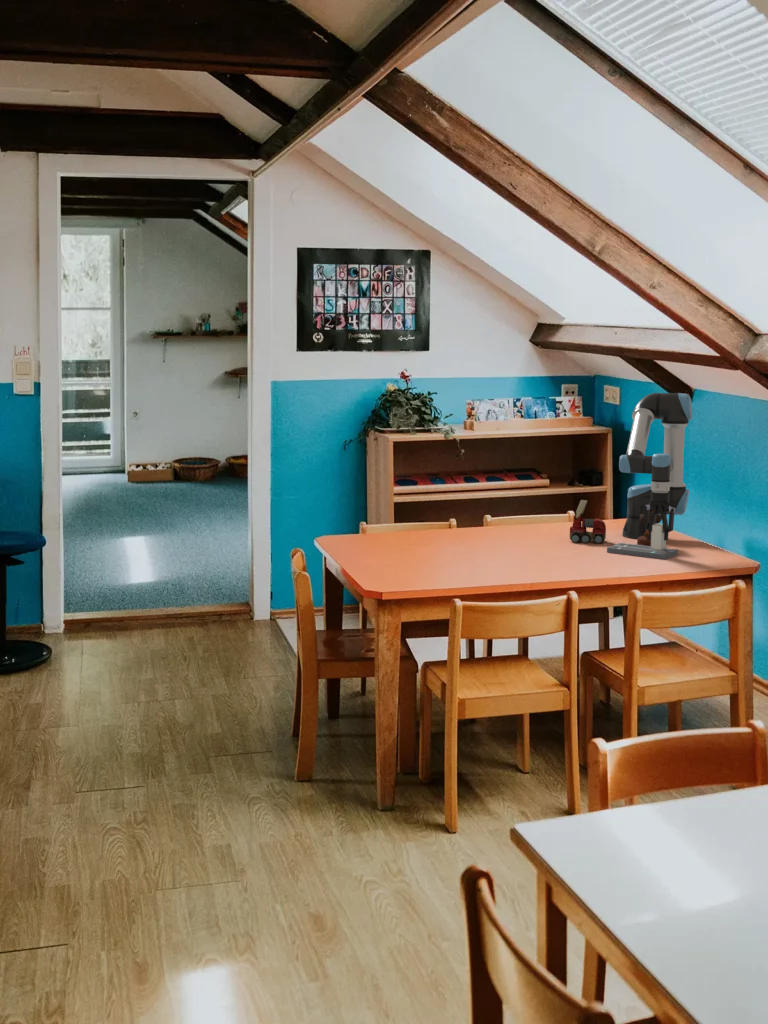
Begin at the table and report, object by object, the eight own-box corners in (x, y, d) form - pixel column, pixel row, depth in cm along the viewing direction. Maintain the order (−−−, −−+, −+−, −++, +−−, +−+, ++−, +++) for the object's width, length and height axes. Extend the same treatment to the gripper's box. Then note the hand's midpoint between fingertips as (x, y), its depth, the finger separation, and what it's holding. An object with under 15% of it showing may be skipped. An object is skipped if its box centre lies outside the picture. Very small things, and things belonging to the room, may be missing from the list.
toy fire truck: (604, 544, 487) (605, 504, 484) (568, 542, 491) (569, 503, 488) (606, 539, 498) (607, 500, 495) (571, 538, 502) (572, 499, 499)
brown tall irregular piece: (662, 549, 474) (659, 503, 471) (636, 550, 477) (633, 504, 474) (664, 543, 488) (661, 498, 485) (638, 543, 492) (636, 499, 489)
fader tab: (654, 548, 466) (655, 523, 464) (666, 549, 463) (667, 524, 461) (649, 550, 462) (650, 524, 460) (661, 551, 459) (662, 526, 457)
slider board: (619, 547, 480) (620, 541, 479) (677, 554, 464) (678, 548, 464) (606, 552, 469) (607, 546, 469) (665, 559, 454) (665, 553, 454)
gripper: (636, 490, 460) (635, 546, 464) (676, 494, 450) (674, 551, 454) (644, 488, 466) (642, 543, 470) (683, 492, 456) (681, 548, 460)
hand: (658, 547), depth 462 cm, fingers closed on fader tab, 4 cm apart
